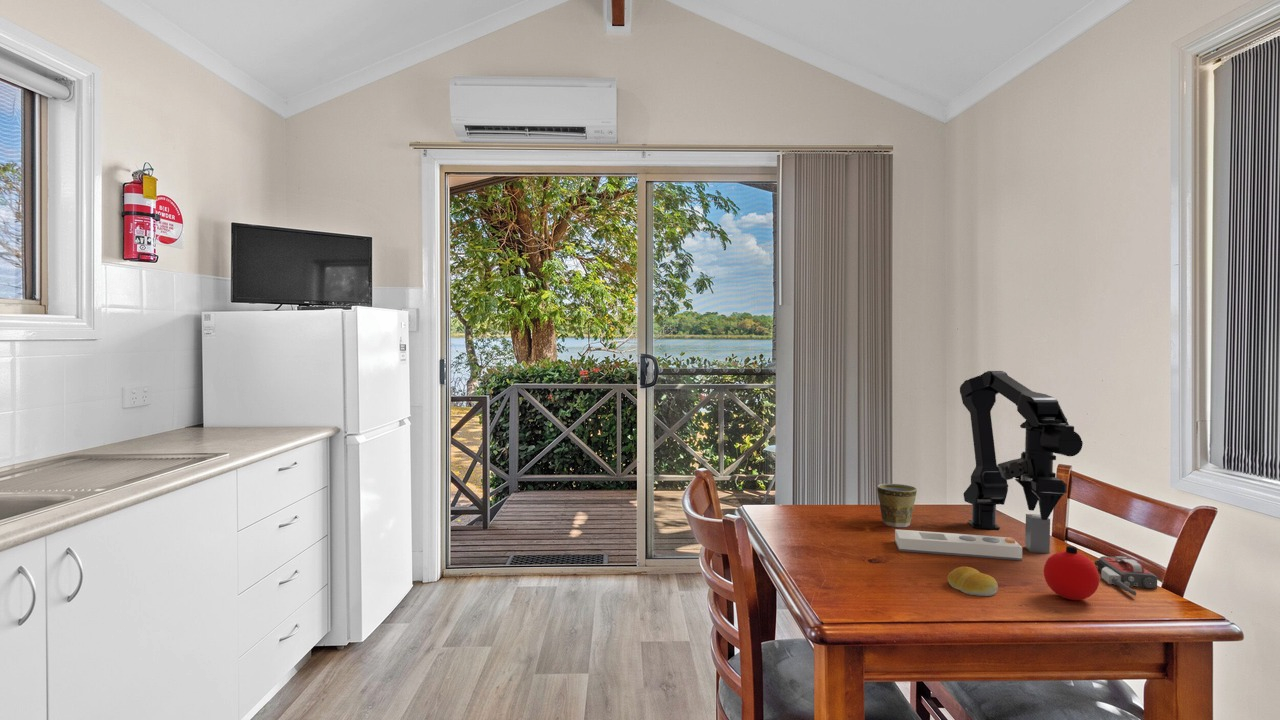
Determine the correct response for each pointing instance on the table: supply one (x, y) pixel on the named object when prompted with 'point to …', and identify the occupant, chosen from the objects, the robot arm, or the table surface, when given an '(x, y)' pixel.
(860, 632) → the table surface
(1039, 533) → the grey rectangular block
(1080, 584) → the ornament
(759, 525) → the table surface
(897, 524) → the ceramic cup
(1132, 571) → the walkie-talkie
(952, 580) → the bread roll
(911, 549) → the power strip
